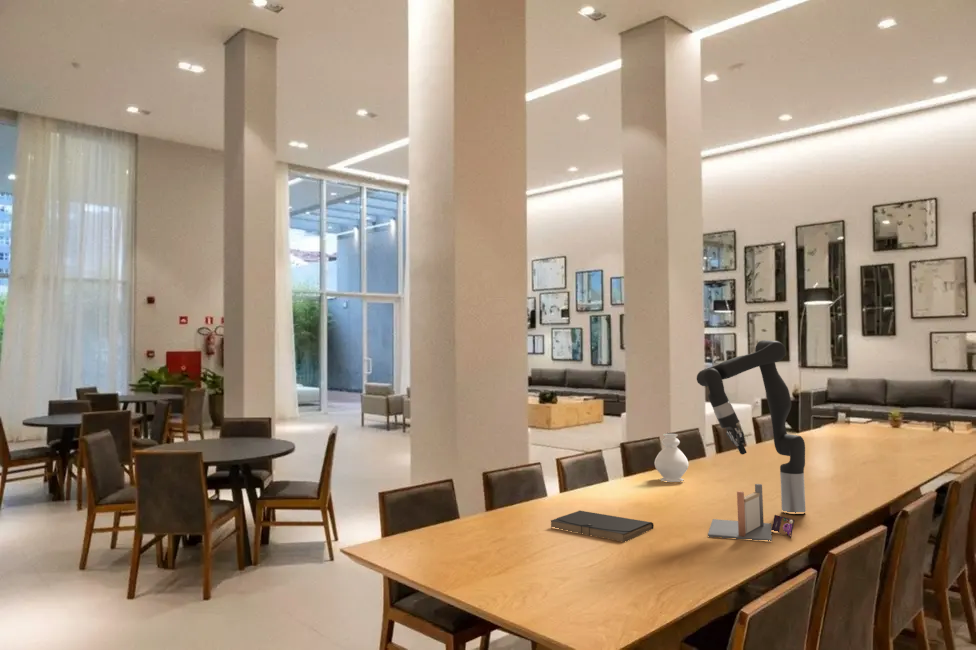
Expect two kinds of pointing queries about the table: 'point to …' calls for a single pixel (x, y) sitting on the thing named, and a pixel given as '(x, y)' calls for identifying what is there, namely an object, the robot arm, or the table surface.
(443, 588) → the table surface
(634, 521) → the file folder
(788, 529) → the purple decorated picture frame
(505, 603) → the table surface
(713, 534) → the board
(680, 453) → the decorative vase
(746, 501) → the panel
